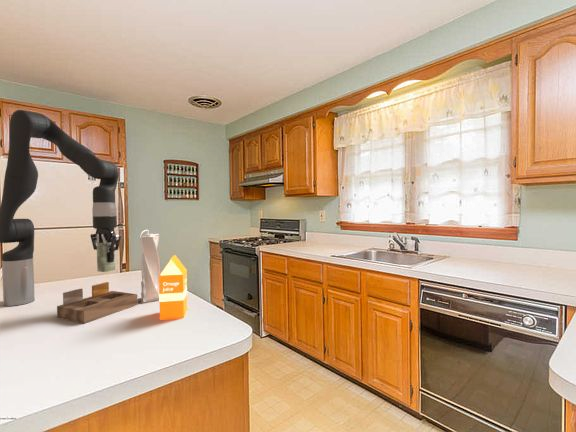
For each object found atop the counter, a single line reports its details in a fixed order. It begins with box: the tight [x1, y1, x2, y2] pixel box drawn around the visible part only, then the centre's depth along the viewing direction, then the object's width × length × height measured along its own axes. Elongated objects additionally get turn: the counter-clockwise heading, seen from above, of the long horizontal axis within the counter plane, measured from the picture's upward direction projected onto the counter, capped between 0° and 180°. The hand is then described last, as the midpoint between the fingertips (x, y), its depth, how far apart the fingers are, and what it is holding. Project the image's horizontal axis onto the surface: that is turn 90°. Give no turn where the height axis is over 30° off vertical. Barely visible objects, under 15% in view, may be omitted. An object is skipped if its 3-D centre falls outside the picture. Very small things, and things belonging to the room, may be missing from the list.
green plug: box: [96, 243, 116, 273], centre depth 110 cm, size 4×4×10 cm
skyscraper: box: [137, 229, 161, 305], centre depth 121 cm, size 8×8×28 cm
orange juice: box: [158, 254, 188, 321], centre depth 103 cm, size 8×9×20 cm
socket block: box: [56, 281, 139, 324], centre depth 108 cm, size 14×20×8 cm
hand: (106, 261), depth 110 cm, fingers closed on green plug, 4 cm apart
